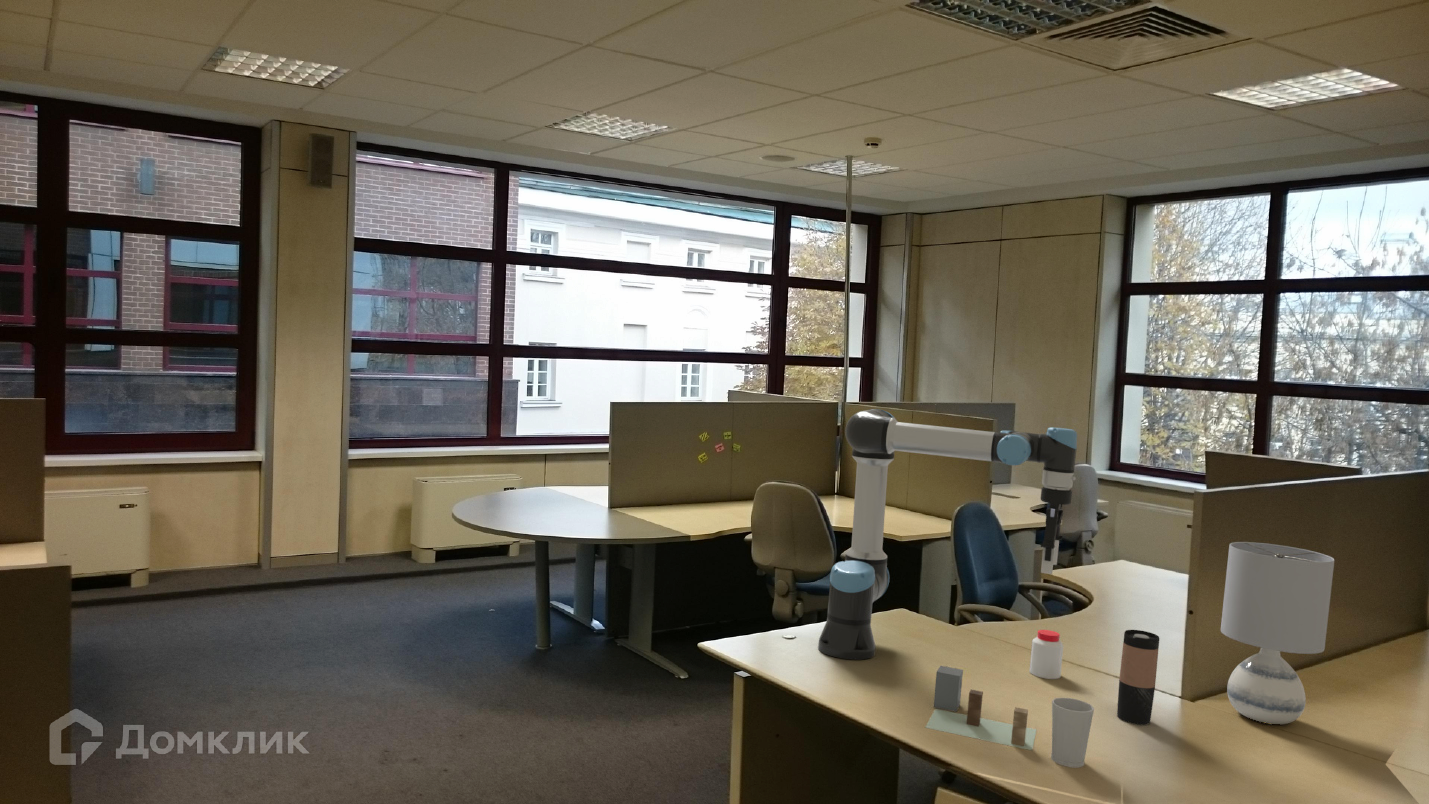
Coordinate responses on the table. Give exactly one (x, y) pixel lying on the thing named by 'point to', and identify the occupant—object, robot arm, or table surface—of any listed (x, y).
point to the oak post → (1019, 726)
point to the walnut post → (974, 707)
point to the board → (978, 728)
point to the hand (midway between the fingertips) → (1048, 568)
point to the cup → (1070, 731)
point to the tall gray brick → (948, 688)
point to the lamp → (1274, 624)
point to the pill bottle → (1046, 655)
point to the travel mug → (1137, 676)
